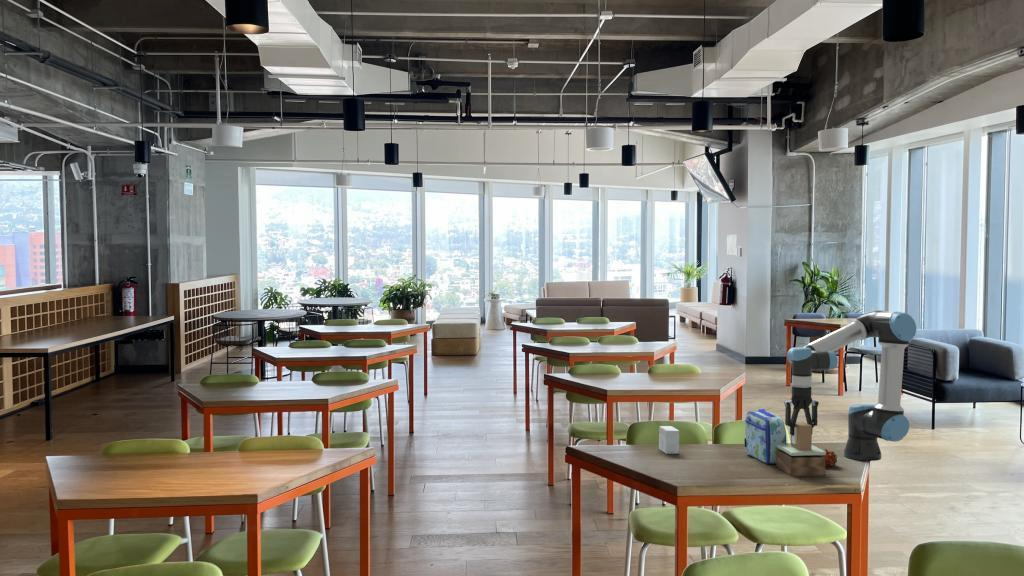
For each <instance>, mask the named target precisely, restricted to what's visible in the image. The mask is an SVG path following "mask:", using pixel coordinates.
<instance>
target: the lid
mask: <svg viewBox="0 0 1024 576" xmlns="http://www.w3.org/2000/svg"><path fill="white" fill-rule="evenodd" d="M795 427H796V428H797V444H794V443H792V435H790V443H786V444H777V448H779V449H781V450H783V451H784V452H786V453H788V454H790V455H791V456H802V455H826V452H825V450H823V449H821V448H819V447H817V446H816V445H813V443H812V442H813V441H812V437H813V432H812V425H809V424H807V422H805V421H796V424H795Z"/></svg>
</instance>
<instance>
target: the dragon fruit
mask: <svg viewBox="0 0 1024 576" xmlns="http://www.w3.org/2000/svg"><path fill="white" fill-rule="evenodd" d="M824 451H825V452H826V455H822V456H823V457H825V469H827V468H829V467H832V466H837V462H838V460H837V459H838V455H837V454H836V453H835V452H834V451H832V450H830V451H829V450H828V449H827V448H824Z"/></svg>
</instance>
